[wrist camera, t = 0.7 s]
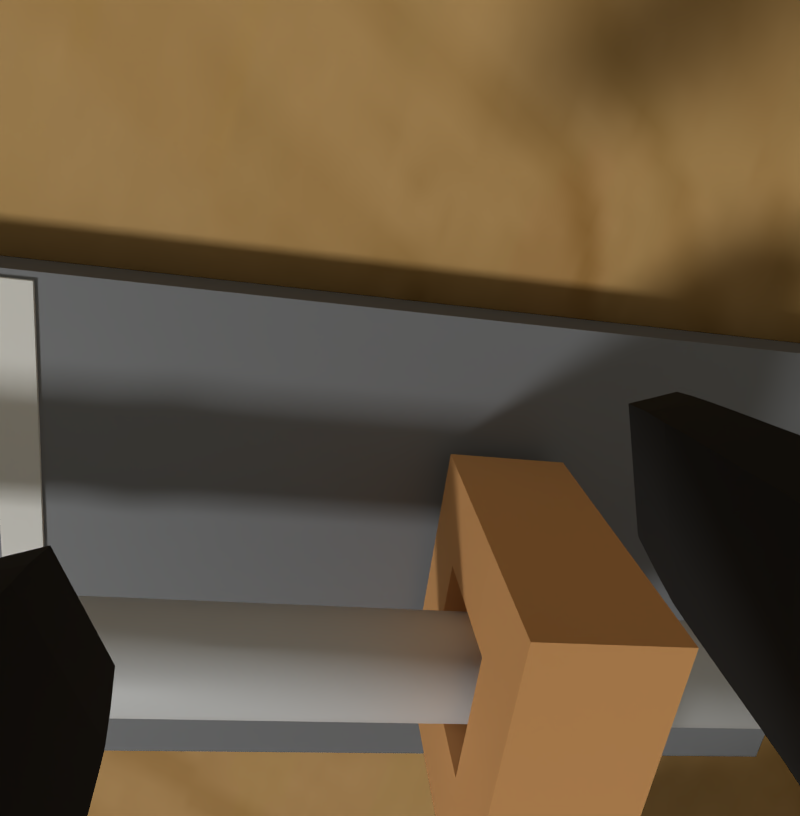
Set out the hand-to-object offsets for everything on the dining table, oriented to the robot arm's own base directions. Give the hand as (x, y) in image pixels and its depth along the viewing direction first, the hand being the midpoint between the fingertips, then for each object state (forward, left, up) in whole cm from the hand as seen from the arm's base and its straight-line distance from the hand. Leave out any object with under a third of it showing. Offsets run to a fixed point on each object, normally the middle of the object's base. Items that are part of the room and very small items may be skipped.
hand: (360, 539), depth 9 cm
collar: (-6, -5, -9) cm, 12 cm away
